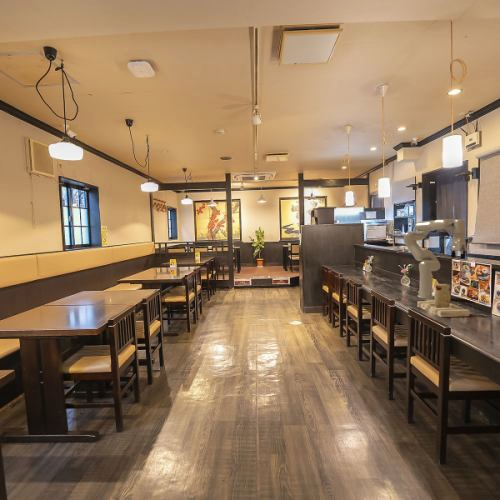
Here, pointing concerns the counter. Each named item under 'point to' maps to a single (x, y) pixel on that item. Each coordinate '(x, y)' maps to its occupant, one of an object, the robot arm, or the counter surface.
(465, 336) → the counter surface
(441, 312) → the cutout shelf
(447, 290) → the food model
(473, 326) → the counter surface
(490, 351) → the counter surface
